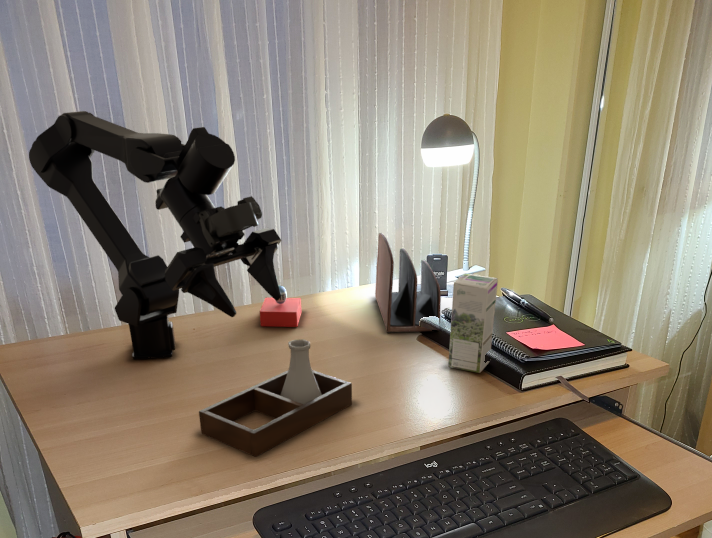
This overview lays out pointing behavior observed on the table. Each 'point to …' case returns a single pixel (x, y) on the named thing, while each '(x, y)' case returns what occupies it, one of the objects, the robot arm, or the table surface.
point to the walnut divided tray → (272, 413)
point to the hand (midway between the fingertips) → (257, 307)
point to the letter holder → (404, 291)
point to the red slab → (281, 311)
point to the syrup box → (472, 321)
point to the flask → (300, 374)
